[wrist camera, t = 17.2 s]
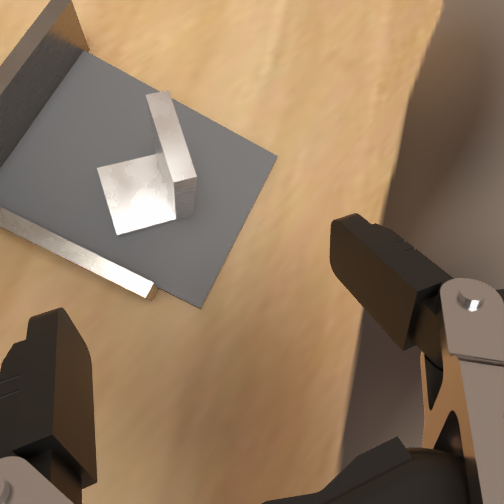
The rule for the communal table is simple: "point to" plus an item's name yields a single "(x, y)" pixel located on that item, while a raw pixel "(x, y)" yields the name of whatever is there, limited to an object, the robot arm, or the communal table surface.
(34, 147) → the corner mat
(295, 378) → the communal table surface
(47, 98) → the corner walls
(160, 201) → the aluminium bracket
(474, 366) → the robot arm
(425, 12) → the communal table surface
